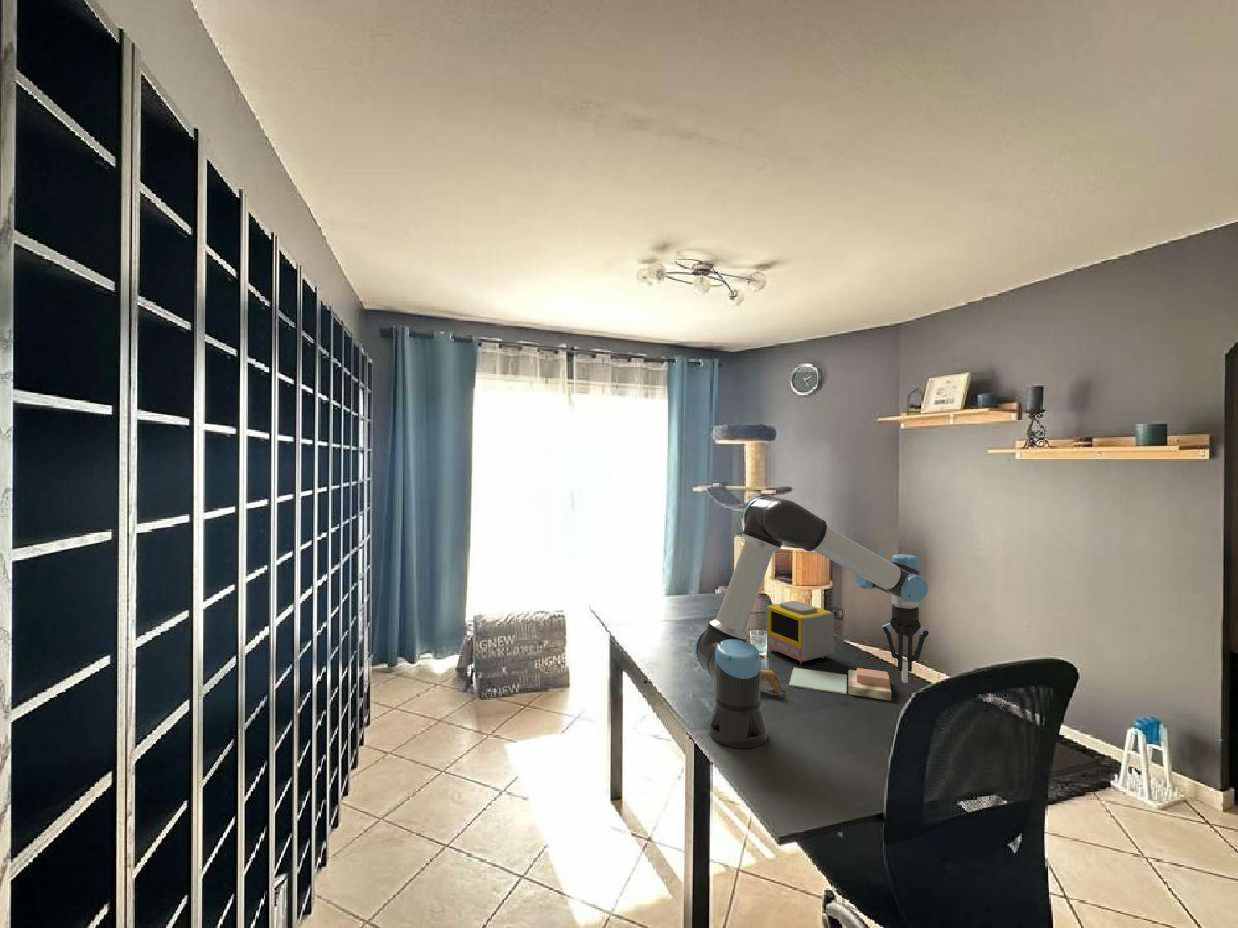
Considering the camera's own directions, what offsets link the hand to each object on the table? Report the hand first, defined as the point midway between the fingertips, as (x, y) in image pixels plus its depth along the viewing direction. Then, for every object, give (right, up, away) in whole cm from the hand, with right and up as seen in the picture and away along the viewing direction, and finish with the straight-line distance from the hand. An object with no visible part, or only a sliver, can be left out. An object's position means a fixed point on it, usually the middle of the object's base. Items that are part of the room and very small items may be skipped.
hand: (904, 680), depth 174 cm
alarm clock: (-22, -3, +33) cm, 40 cm away
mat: (-23, -4, +10) cm, 25 cm away
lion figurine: (-44, -4, +3) cm, 44 cm away
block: (-8, -1, +4) cm, 9 cm away
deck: (-9, -4, +4) cm, 11 cm away
